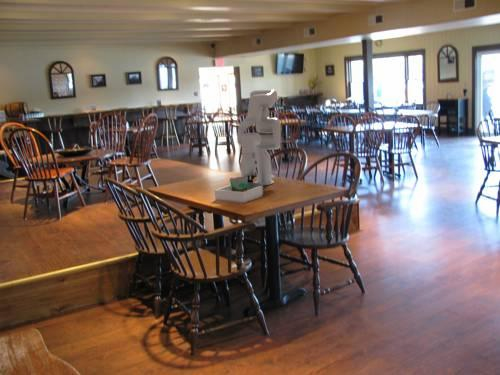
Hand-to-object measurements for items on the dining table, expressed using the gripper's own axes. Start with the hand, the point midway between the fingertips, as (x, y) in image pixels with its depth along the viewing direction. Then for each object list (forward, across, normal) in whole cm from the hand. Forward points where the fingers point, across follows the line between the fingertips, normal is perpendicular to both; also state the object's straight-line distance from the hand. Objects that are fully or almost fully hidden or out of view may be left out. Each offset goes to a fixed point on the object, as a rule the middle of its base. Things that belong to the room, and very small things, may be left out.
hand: (250, 186), depth 305 cm
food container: (+3, -1, +11) cm, 11 cm away
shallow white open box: (+5, 0, +11) cm, 12 cm away
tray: (+3, 0, +11) cm, 11 cm away
